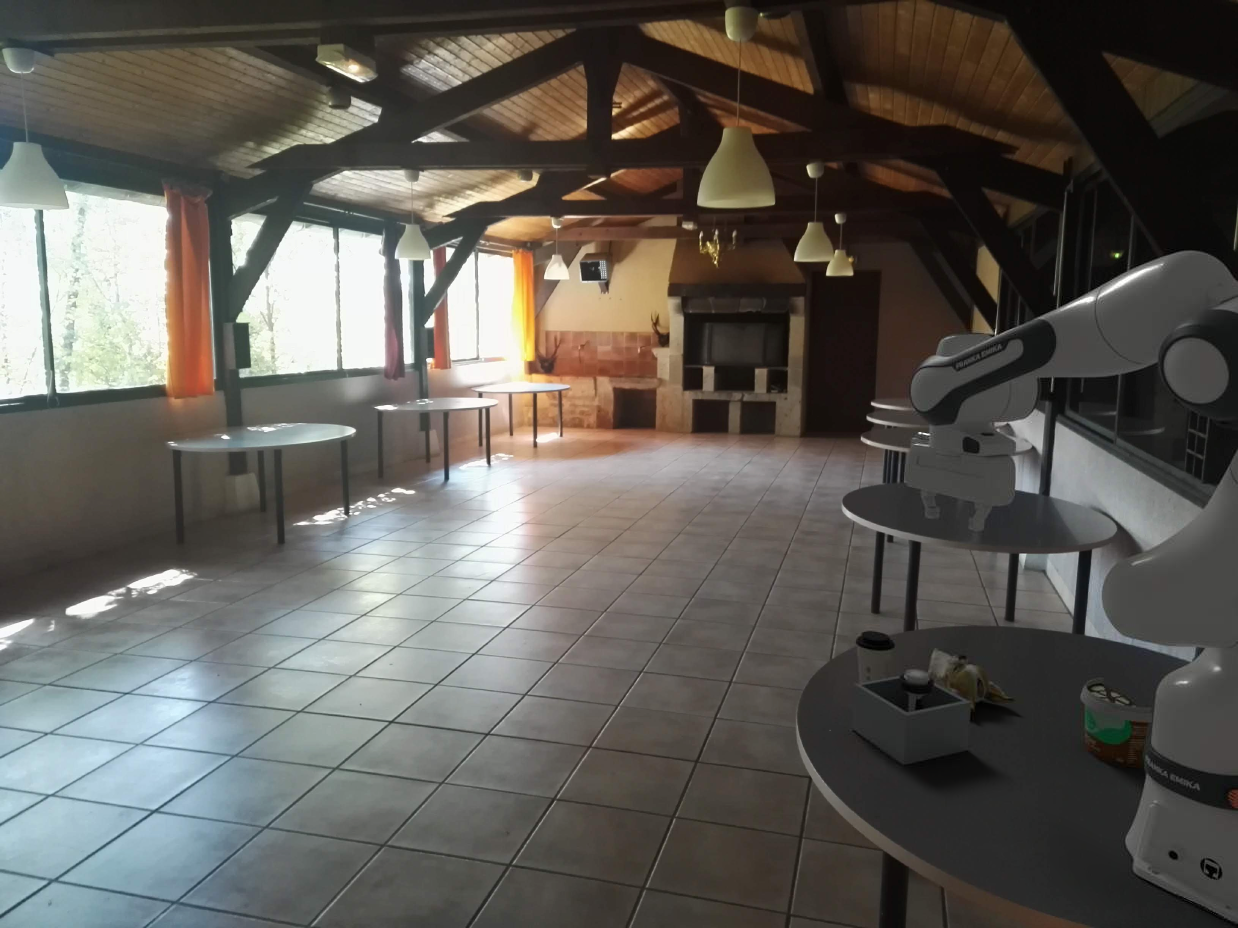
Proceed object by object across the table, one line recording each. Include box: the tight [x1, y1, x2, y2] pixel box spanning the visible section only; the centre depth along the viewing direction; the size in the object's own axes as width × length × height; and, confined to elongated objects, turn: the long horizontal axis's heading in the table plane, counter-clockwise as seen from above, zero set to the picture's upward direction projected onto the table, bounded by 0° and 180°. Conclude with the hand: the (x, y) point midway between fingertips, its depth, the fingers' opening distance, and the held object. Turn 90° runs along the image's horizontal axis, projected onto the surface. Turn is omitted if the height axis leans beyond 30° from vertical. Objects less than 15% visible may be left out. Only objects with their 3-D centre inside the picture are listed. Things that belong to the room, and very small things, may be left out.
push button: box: [899, 668, 934, 712], centre depth 140 cm, size 7×5×10 cm
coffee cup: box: [855, 630, 896, 683], centre depth 161 cm, size 7×7×10 cm
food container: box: [1080, 677, 1153, 769], centre depth 136 cm, size 12×6×10 cm, turn 5°
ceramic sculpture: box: [927, 647, 1016, 712], centre depth 156 cm, size 11×9×15 cm
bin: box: [851, 675, 971, 766], centre depth 140 cm, size 13×13×8 cm
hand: (953, 523), depth 139 cm, fingers open, 8 cm apart
